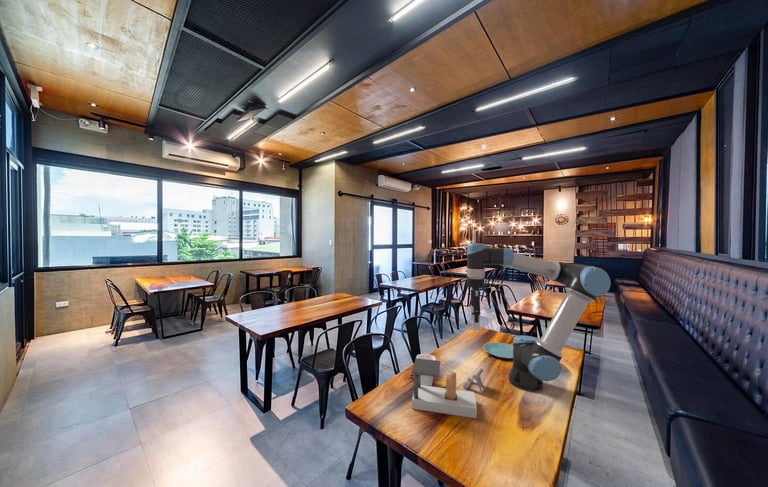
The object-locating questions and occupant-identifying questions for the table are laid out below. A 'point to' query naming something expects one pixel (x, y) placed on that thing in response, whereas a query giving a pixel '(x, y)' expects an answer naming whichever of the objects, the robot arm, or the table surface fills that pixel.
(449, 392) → the peg
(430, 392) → the board
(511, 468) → the table surface
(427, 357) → the foam cup
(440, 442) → the table surface
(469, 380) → the portable electronic device stand
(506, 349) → the plate
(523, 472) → the table surface
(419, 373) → the dark grey l-shaped piece
